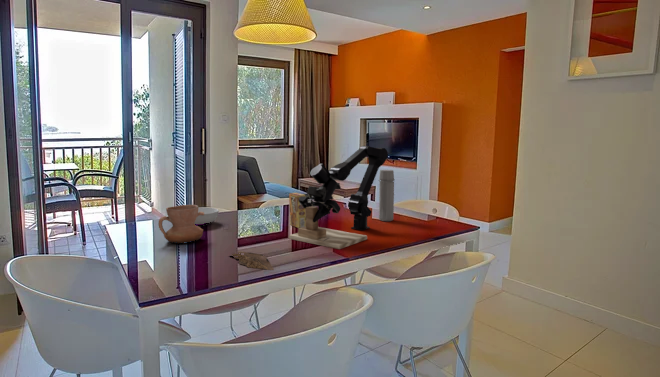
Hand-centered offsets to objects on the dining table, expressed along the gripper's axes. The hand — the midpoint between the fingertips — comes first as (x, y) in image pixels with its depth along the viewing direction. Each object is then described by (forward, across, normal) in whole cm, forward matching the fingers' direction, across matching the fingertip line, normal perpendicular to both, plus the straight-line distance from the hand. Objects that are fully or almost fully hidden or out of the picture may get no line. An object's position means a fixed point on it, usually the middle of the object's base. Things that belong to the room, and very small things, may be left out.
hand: (309, 221), depth 173 cm
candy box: (-6, -22, +17) cm, 28 cm away
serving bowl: (+14, -62, -2) cm, 64 cm away
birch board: (+1, +4, +10) cm, 11 cm away
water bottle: (-31, +4, +43) cm, 53 cm away
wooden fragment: (+29, +2, -17) cm, 34 cm away
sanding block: (+4, 0, +6) cm, 7 cm away
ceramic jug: (+29, -40, -17) cm, 52 cm away
